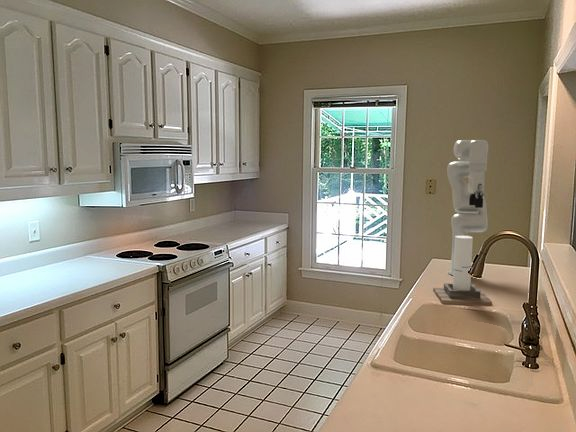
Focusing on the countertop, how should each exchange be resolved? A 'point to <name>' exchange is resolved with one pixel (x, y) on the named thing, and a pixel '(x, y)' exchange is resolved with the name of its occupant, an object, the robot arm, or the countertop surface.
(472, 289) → the walnut caddy
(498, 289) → the countertop surface
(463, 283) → the cylindrical container
